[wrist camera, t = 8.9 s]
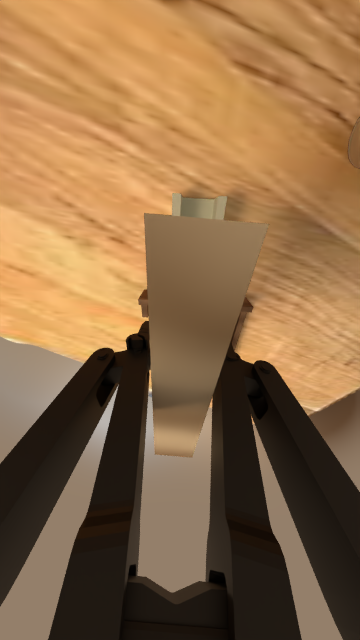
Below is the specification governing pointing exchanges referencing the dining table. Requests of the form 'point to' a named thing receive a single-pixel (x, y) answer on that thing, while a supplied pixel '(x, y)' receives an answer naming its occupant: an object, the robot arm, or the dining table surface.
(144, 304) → the rack
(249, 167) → the dining table surface
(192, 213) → the display stand
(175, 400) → the plywood sheet
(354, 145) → the coffee cup
